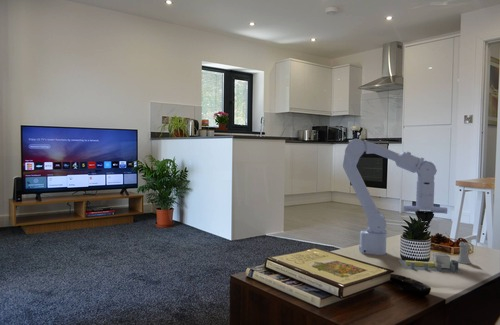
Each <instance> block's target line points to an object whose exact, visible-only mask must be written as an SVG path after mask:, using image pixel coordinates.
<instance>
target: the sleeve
mask: <svg viewBox="0 0 500 325" xmlns="http://www.w3.org/2000/svg"><path fill="white" fill-rule="evenodd" d="M450 261H451V256H450V255H449V254H447V253H444V252H443V253H442V252H441V253H438V252H432V262H435V267H437V265H438V264H441V268H450Z"/></svg>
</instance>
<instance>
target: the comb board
mask: <svg viewBox="0 0 500 325" xmlns="http://www.w3.org/2000/svg"><path fill="white" fill-rule="evenodd" d="M397 261H398V262H399V264H400V265H401V266H402V267H403V269H404V270H415V271H428V272H429V271H430V272H440V273H441V272H443V273H445V272H446V273H457V274H463V272H462V271H461V270H460V269H459V263H458V262H457V259H456V260H455V259H450V268H441V264H438V265H437V267H435V262H433V261H420V260H419V261H418V260H407V259H404V260H402V259H398V260H397Z"/></svg>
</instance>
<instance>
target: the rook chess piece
mask: <svg viewBox="0 0 500 325" xmlns="http://www.w3.org/2000/svg"><path fill="white" fill-rule="evenodd" d="M458 246H459V256H458V257H457V258H456V261H457V262H458V264H464V265H470V264H471V263H472V262H471V260H470V258H469V248H470V244H469V242H467V241H465V242H464V241H460V242H459V244H458Z"/></svg>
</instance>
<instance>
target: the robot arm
mask: <svg viewBox="0 0 500 325" xmlns="http://www.w3.org/2000/svg"><path fill="white" fill-rule="evenodd" d="M364 153H365V154H366V155H367V154H368V155H369V154H375V155H378V156H380V157H382V158H385V159H388V160H391V161H393V162H395V166H396V167H398V168H400V169H404V170H405V171H407V172H410V173H412V174H414V173H415V174H417V181H416V193H415V194H416V195H415V196H416V197H415V198H416V199H415V205H402V212H405V213H406V212H410V213H411V212H413V213H415V216H416V218H417V220H419V219H420V218H422V221H428V223H427V224H426V226H428V228H427V229H426V230H425V231H427V232H428V229H429V227H430V223H431V221H432V220H433V218H434V217H435V214H448V207H441V206H434V205H435V176H436V174H437V170H438V169H437V168H436V165H435V164H434V163H433V162H432V161H428V160H425V158H424V157H418V156H416V155H413V154H412V153H411V152H410V151H406V152H405V151H402V152H400V153H398V152H396V151H394V150H391V149H389V148H387V147H384V146H382V145H379V144H377V143H374V142H370V141H366V140H363V139H362V140H361V139H360V138H353V139H351V140H350V141H349V142H348V144H347V145H346V147H345V149H344V154H343V155H344V157H343V162H342V167H343V169H344V172H345V174H346V176H347V178H348V180H349V182H350V185H351V186H352V188H353V189H352V190H354V192H355V195H356V197H357V199H358V200H359V203H360V205H361V207H362V209H363V212H364V214H365V217H366V219H367V226H368V227H367V228H365V230H360V232H359V246H358V249H359V251H360V254H364V255H365V254H367V255H368V254H369V255H378V256H382V255H383V256H384V255H386V254H387V233H388V232H387V229H386V227H387V221H386V219H385V216H384V214H382V212H380V211H379V209H378V207H377V205H376V203H375V201H374V200H373V198H372V196H371V194H370V191H369V190H368V188H367V185H366V184H365V181H364V179H363V177H362V175H361V172H360V171H359V170H358V167H357V166H358V163H359V161H360V158H361V157H362V156H363V155H364Z"/></svg>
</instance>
